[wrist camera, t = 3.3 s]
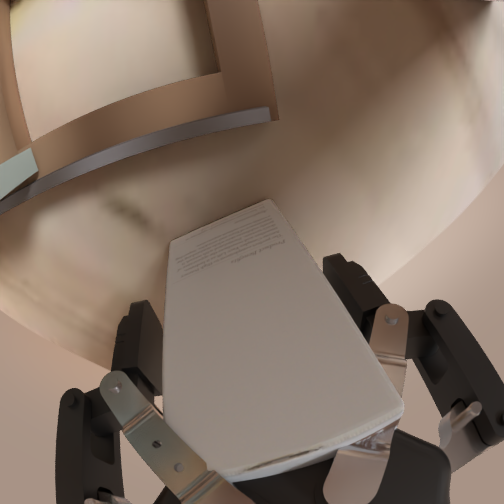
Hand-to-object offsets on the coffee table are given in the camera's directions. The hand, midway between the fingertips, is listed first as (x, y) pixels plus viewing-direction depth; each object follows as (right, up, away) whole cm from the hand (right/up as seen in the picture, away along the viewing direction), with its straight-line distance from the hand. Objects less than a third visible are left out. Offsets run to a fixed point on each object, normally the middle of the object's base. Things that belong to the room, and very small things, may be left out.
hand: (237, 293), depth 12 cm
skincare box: (0, +2, +4) cm, 4 cm away
